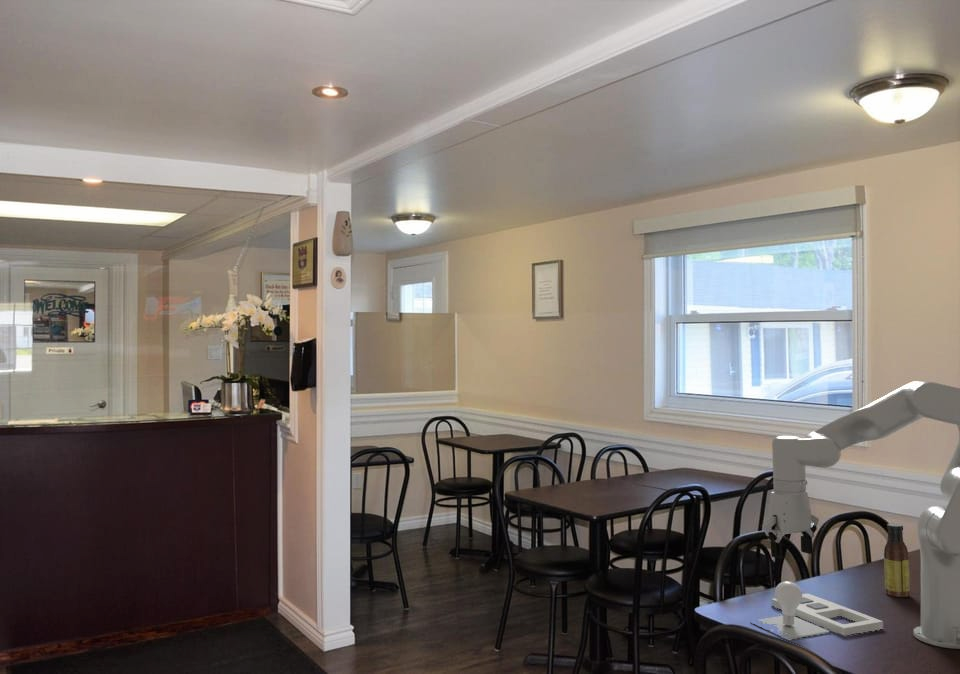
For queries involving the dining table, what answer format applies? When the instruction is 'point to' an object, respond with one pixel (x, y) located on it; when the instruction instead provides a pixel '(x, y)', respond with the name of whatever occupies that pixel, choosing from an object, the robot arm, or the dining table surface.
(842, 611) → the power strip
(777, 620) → the mat
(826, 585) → the dining table surface
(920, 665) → the dining table surface
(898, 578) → the sauce bottle
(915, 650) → the dining table surface
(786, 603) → the lightbulb
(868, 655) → the dining table surface
